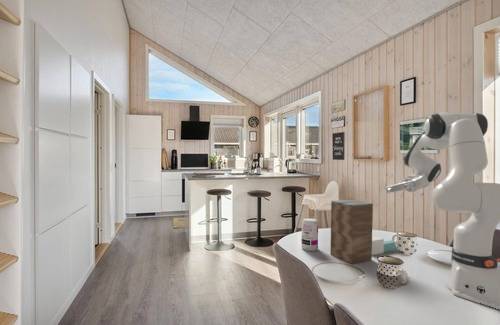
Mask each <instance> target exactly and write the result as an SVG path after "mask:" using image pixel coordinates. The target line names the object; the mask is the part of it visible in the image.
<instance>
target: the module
mask: <svg viewBox="0 0 500 325" xmlns="http://www.w3.org/2000/svg"><path fill="white" fill-rule="evenodd" d="M393 241H394V240H393V239H390V240H384V238H382V237H378V236H372V256H376V255H381V254H384V253H385V252H391V251H396V250H398V246H397V247H396V245H395V243H394V242H393Z"/></svg>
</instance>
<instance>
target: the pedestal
mask: <svg viewBox="0 0 500 325" xmlns="http://www.w3.org/2000/svg"><path fill="white" fill-rule="evenodd" d="M330 203H331V206H330V207H331V209H330V213H331V214H330V253H329V254H330V255H331V256H334V257H335V258H338V259H340V260H342V261H344V262H346V263H348V264H351V265H355V264H359V263H364V262H368V261H372V260H373V258H372V257H373V255H372V237H373V219H374V218H373V216H374V215H373V212H374V209H373V208H374V204H373V203H370V202H365V201H361V200H356V199H338V200H336V199H335V200H331V202H330Z"/></svg>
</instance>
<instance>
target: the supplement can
mask: <svg viewBox="0 0 500 325" xmlns="http://www.w3.org/2000/svg"><path fill="white" fill-rule="evenodd" d="M301 248H302V250H303V251H307V252H315V251H317V250H318V248H319V222H318V219H316V218H311V217H310V218H309V217H305V218H303V219H302V221H301Z"/></svg>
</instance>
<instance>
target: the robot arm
mask: <svg viewBox="0 0 500 325" xmlns="http://www.w3.org/2000/svg"><path fill="white" fill-rule="evenodd" d="M488 128H489V122H488V119H487V117H486V116H485V114H483V113H477V112H473V113H467V112H452V111H443V112H439V113H435V114H431V115H428V116H427V117H426V119H425V121H424V124H423V131H424V132H422V133H420V134H419V135H418V137H417V138H416V139H415V141H414V142H413V144H412V146H411V147H410V148H409V149H408V152H406V154H405V156H404V157H403V162H404V165H406V166H407V167H409V168H411V169H412V170H414V171H416V172H415V173H412V174H408V175H405V176H404V177H403V178H402V179H401V182H398V183H394V184H391V185H388V186H385V187H384V189H385V192H386V193H387V194H392V193H396V192H401V191H404V190H405V191H406V192H408V193H414V192H417V191H420V190H421V189H425V188H427V187H429V186H430V185H431V184H432V182H434V181H435V180H436V179H437V178H439V176H440V175H441V172H442V166H441V163H439V162H438V161H436V160H435V159H433V158H432V157H430V156H428V155H427V154H425V153H423V152H422V148H424V147H425V148H428V149H431V150H435V151H436V150H444V149H448V150H449V163H450V164H449V171H448V174H447V175H446V177H445V178H444V179H443V180H442V181H441V182H439V183H437V185H436V186H435V187H434V188H433V191H432V196H431V197H432V201H433V204H434V205H435V206H436V207H437V209H439V210H442V211H446V212H450V213H460V214H461V213H463V214H465V213H466V214H471V215H470V217H469V218H468V219H467V220H465V221H463V222H460V223H458V224H457V225H455V227H454V230H453V244H452V245H453V246H452V248H451V269H450V274H449V277H448V280H447V283H446V287H447V288H448V289H449V290H451V292H452V294H453V295H454V296H456V297H459V298H462V299H465V300H467V301H471V302H474V303H477V304H480V303H481V304H480V305H483V304H484V305H483V306H486V305H487V306H486V307H489V306H491V307H490V308H492V307H493V308H492V309H495V308H496V310H498V309H499V310H498V311H500V268H499V267H498V263H500V258H496V257H495V256H494V254H492V253H493V252H492V251H493V239H494V234H495V231H496V229H497V227H498V225H499V224H500V183H495V182H475V181H473V176H474V175H476V174H479V173H481V172H482V171H484V170H485V169H486V168H487V166H488V165H489V162H488V153H487V147H486V143H485V137H484V136H485V135H486V133H487V131H488Z"/></svg>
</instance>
